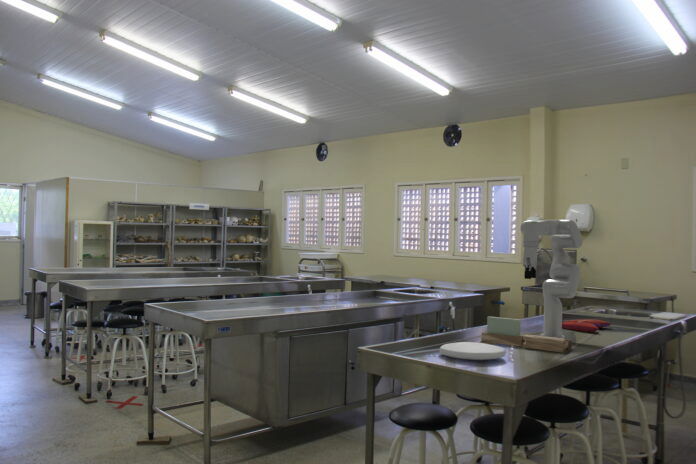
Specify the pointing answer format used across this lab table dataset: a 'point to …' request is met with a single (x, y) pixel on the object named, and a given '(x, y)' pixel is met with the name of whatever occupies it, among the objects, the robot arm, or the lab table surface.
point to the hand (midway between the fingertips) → (530, 278)
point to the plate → (472, 351)
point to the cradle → (501, 339)
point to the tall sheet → (503, 326)
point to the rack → (547, 343)
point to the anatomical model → (585, 325)
